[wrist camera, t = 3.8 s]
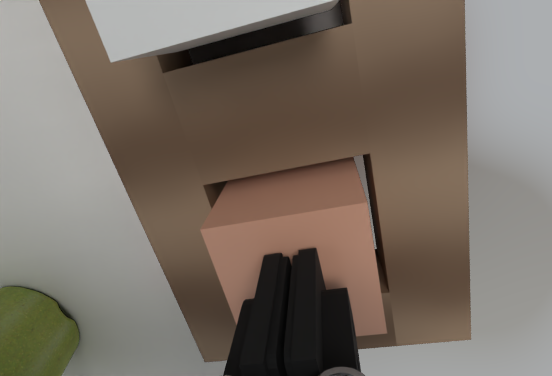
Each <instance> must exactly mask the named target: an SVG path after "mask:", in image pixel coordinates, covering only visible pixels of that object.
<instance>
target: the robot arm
mask: <svg viewBox="0 0 552 376" xmlns="http://www.w3.org/2000/svg"><path fill="white" fill-rule="evenodd" d="M223 376H365V375H364V374H363V373H361V369H360V362H359V354H358V347H357V340H356V333H355V326H354V320H353V314H352V309H351V304H350V299H349V294H348V289H347V287H346V288H337V289H329V290H326V287H325V282H324V278H323V274H322V269H321V265H320V261H319V256H318V252H317V249H316V248H310V249H303V250H299V252H298V255H294V256H293V259H292V266H291V262H290V259H289V257H288V256H287V257H283V255H282V253H275V254H268V255H264V257H263V261H262V266H261V270H260V275H259V279H258V283H257V288H256V292H255V297H254V298H253V299H245V300H244V301H243V304H242V307H241V310H240V314H239V318H238V322H237V326H236V329H235V333H234V337H233V341H232V344H231V348H230V352H229V356H228V360H227V363H226V367H225V371H224V375H223Z"/></svg>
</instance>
